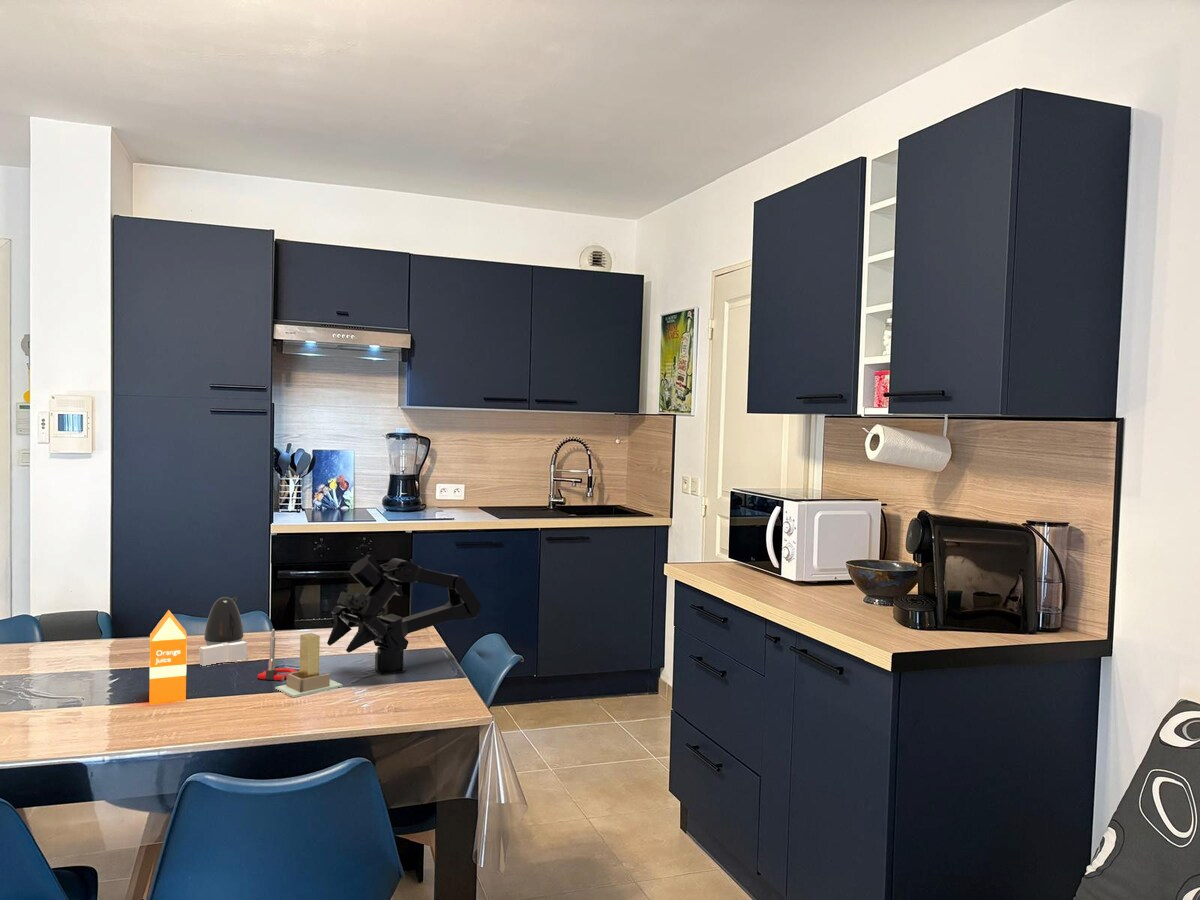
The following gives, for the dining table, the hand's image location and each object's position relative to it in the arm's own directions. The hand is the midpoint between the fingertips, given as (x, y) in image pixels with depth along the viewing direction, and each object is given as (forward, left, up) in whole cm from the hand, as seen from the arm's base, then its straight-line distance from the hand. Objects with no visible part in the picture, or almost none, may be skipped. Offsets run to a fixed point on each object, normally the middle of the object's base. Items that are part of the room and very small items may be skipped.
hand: (337, 648), depth 217 cm
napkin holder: (+23, -30, -9) cm, 39 cm away
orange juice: (+38, -4, -9) cm, 39 cm away
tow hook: (+12, -12, -9) cm, 19 cm away
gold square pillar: (+7, +2, -8) cm, 11 cm away
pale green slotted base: (+7, +2, -9) cm, 12 cm away
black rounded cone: (+22, -44, -9) cm, 50 cm away
